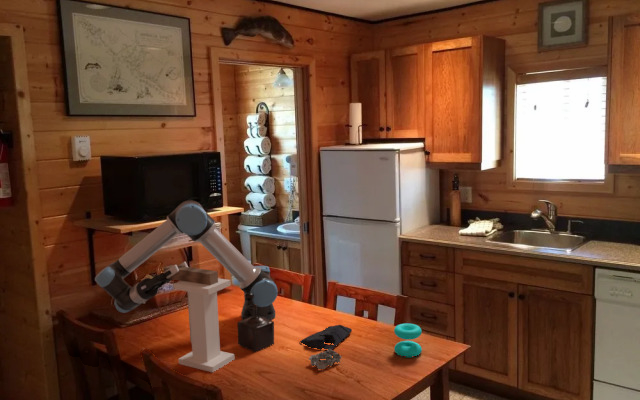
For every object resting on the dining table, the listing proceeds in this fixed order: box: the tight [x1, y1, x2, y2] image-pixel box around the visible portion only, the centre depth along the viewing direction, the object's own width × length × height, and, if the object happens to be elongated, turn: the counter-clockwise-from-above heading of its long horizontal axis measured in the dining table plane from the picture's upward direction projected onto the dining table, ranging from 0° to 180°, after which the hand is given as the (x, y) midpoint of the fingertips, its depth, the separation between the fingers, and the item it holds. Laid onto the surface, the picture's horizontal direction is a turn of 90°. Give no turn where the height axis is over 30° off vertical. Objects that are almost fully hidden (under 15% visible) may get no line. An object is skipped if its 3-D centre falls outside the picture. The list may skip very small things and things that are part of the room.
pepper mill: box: [237, 292, 275, 353], centre depth 213 cm, size 16×11×18 cm
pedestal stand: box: [173, 277, 236, 373], centre depth 197 cm, size 16×12×30 cm
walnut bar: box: [163, 264, 219, 285], centre depth 197 cm, size 22×4×4 cm, turn 61°
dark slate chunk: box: [299, 324, 352, 350], centre depth 216 cm, size 15×22×5 cm
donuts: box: [393, 322, 423, 358], centre depth 201 cm, size 10×10×10 cm
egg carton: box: [308, 349, 343, 369], centre depth 194 cm, size 11×8×4 cm
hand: (181, 266), depth 199 cm, fingers closed on walnut bar, 4 cm apart
